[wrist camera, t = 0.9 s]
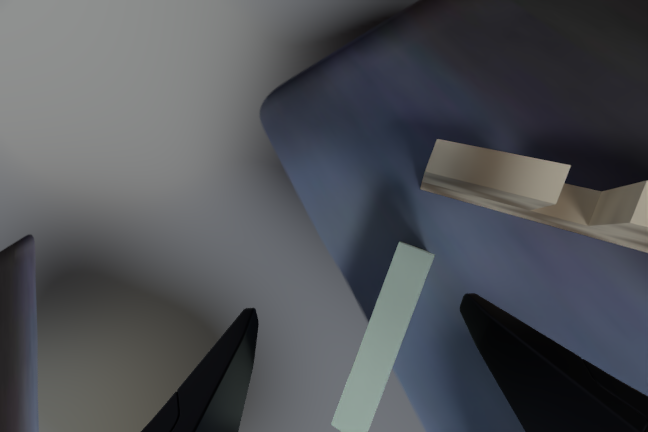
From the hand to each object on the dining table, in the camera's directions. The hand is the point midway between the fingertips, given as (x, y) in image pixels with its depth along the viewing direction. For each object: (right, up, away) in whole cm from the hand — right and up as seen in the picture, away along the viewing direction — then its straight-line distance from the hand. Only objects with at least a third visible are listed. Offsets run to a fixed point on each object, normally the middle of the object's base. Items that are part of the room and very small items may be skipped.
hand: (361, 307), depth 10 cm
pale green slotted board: (+4, -6, +12) cm, 14 cm away
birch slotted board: (+16, +5, +9) cm, 18 cm away
